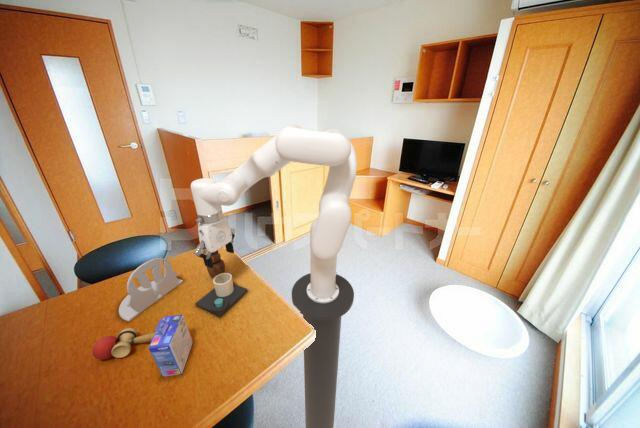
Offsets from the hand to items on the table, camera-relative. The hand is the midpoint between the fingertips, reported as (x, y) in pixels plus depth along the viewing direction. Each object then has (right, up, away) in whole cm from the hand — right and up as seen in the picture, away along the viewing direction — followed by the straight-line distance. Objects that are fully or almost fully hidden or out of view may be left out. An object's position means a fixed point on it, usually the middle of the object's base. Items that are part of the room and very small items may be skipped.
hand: (220, 259), depth 85 cm
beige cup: (-1, -13, +6) cm, 15 cm away
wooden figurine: (-8, -10, +17) cm, 21 cm away
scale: (-1, -16, +5) cm, 17 cm away
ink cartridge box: (-5, -26, -17) cm, 31 cm away
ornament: (-31, -15, +6) cm, 35 cm away
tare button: (0, -16, -2) cm, 16 cm away
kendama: (-20, -24, -13) cm, 34 cm away
